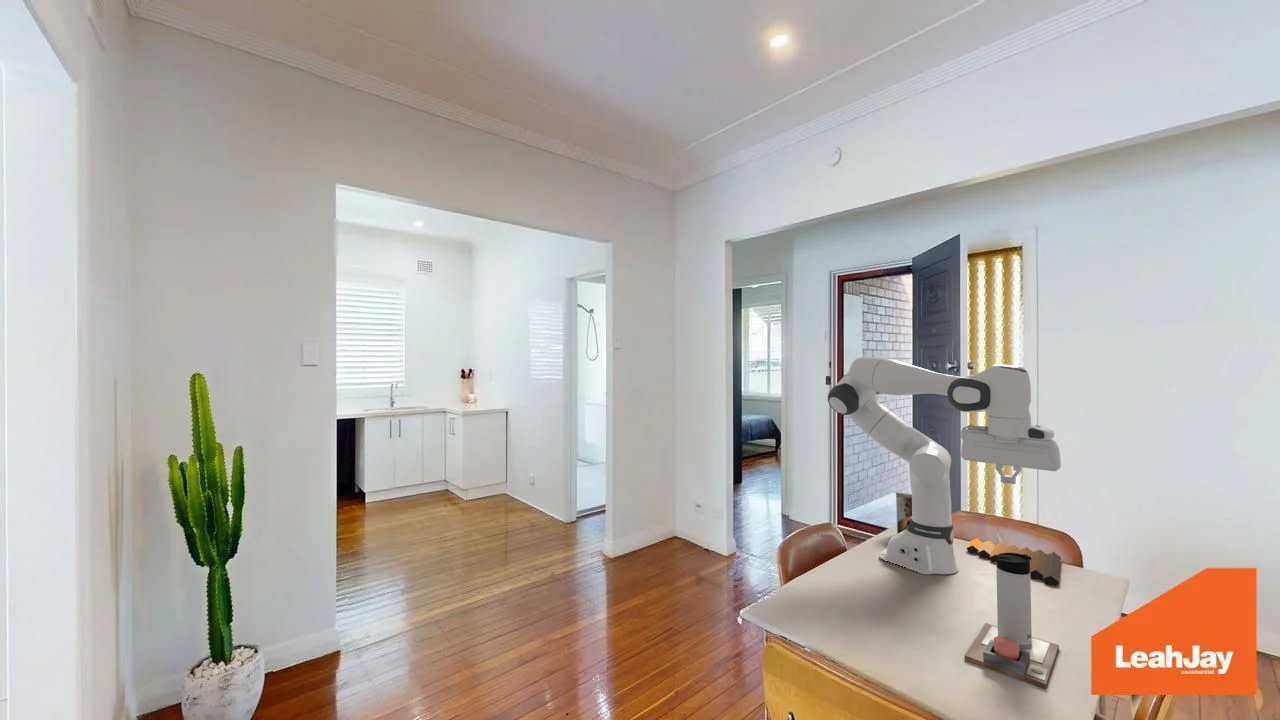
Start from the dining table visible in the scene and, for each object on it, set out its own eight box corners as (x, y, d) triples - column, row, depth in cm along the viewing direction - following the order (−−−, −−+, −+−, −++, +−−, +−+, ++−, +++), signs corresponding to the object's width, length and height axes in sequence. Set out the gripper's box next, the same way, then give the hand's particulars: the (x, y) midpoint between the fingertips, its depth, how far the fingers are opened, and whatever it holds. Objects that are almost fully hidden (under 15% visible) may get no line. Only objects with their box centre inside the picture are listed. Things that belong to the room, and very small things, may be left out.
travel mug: (1039, 651, 111) (1037, 561, 111) (1006, 648, 112) (1004, 558, 112) (1024, 636, 117) (1022, 550, 117) (992, 633, 118) (991, 549, 119)
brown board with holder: (964, 660, 110) (964, 645, 110) (985, 626, 124) (985, 613, 124) (1045, 689, 100) (1045, 672, 100) (1058, 649, 114) (1058, 635, 114)
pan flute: (1058, 588, 146) (1060, 563, 165) (1058, 577, 146) (1060, 553, 165) (959, 567, 162) (971, 546, 181) (958, 556, 162) (971, 536, 181)
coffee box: (923, 537, 190) (922, 494, 190) (925, 542, 184) (924, 498, 184) (896, 533, 193) (895, 492, 194) (897, 539, 187) (896, 496, 188)
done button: (991, 660, 107) (991, 641, 107) (996, 652, 110) (996, 634, 110) (1017, 669, 104) (1016, 649, 104) (1021, 660, 107) (1020, 641, 107)
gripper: (957, 425, 131) (957, 477, 131) (1058, 434, 117) (1058, 493, 117) (964, 423, 136) (963, 474, 136) (1062, 431, 121) (1061, 488, 121)
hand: (1008, 483), depth 126 cm, fingers closed
